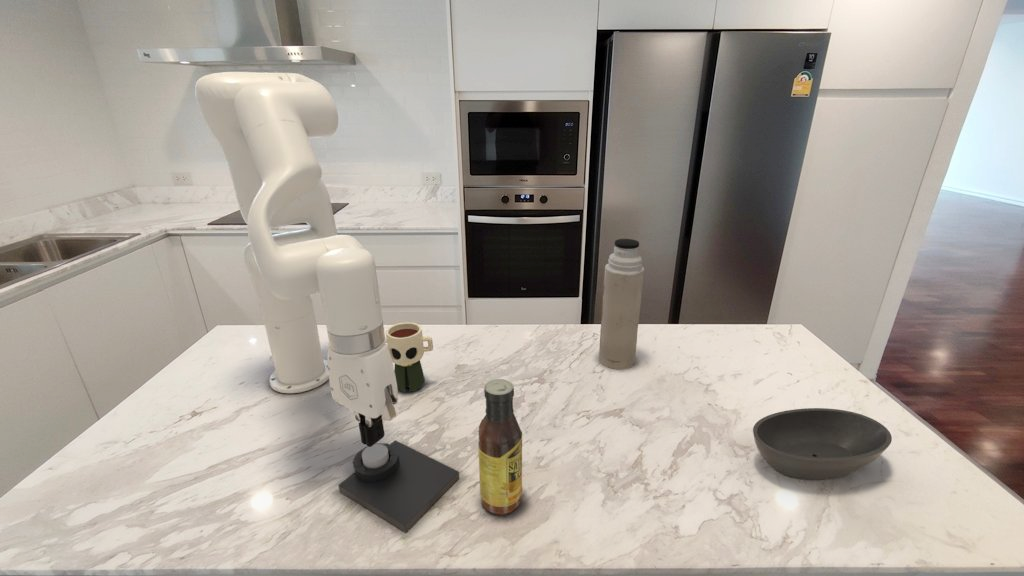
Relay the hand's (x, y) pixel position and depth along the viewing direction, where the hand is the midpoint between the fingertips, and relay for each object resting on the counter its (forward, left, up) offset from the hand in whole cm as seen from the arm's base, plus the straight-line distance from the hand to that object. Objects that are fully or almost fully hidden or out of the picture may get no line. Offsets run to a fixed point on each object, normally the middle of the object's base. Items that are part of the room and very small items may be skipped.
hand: (373, 440), depth 75 cm
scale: (+5, 0, -7) cm, 8 cm away
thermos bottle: (+20, +53, -7) cm, 57 cm away
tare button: (0, 0, -4) cm, 4 cm away
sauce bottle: (+20, +6, -7) cm, 22 cm away
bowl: (+59, +39, -7) cm, 71 cm away
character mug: (-13, +21, -7) cm, 26 cm away
